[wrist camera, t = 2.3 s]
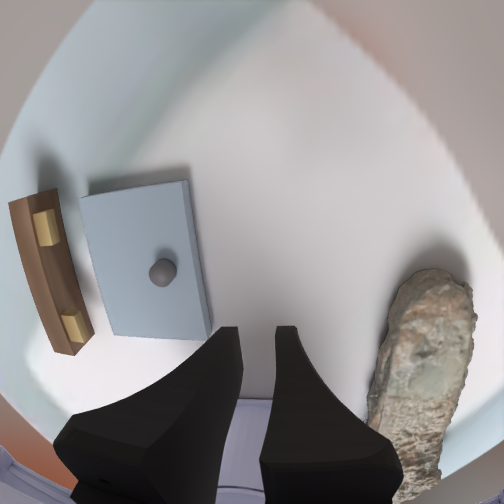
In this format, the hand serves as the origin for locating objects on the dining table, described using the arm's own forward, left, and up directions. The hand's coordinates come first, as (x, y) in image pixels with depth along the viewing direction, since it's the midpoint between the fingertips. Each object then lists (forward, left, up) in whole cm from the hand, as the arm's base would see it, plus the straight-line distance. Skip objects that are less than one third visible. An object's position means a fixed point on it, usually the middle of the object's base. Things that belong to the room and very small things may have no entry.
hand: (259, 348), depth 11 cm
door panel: (+9, 0, -10) cm, 13 cm away
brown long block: (+18, 0, -9) cm, 20 cm away
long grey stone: (-12, +18, -10) cm, 24 cm away
